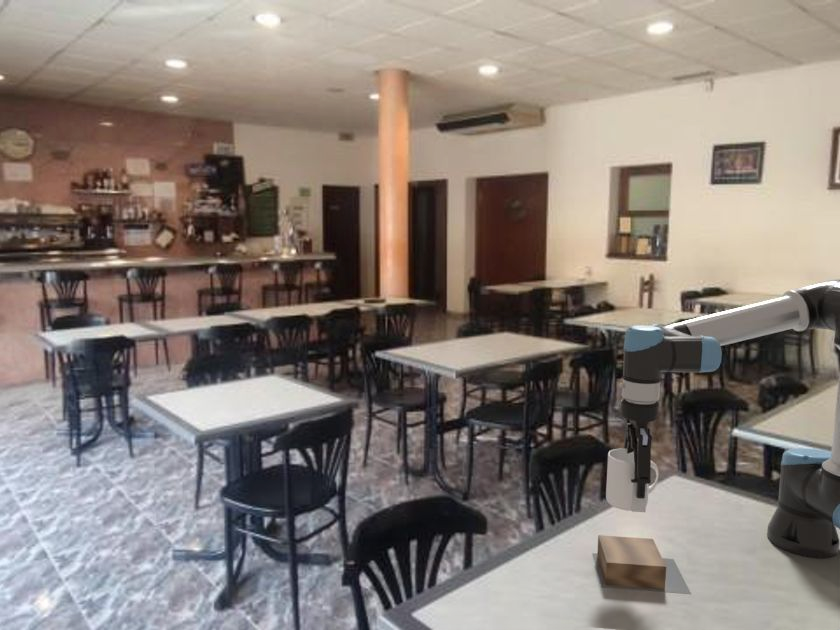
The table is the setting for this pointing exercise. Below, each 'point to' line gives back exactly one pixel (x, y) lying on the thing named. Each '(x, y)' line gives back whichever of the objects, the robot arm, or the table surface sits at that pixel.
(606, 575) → the walnut block
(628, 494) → the mug
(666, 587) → the slate tile
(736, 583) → the table surface
